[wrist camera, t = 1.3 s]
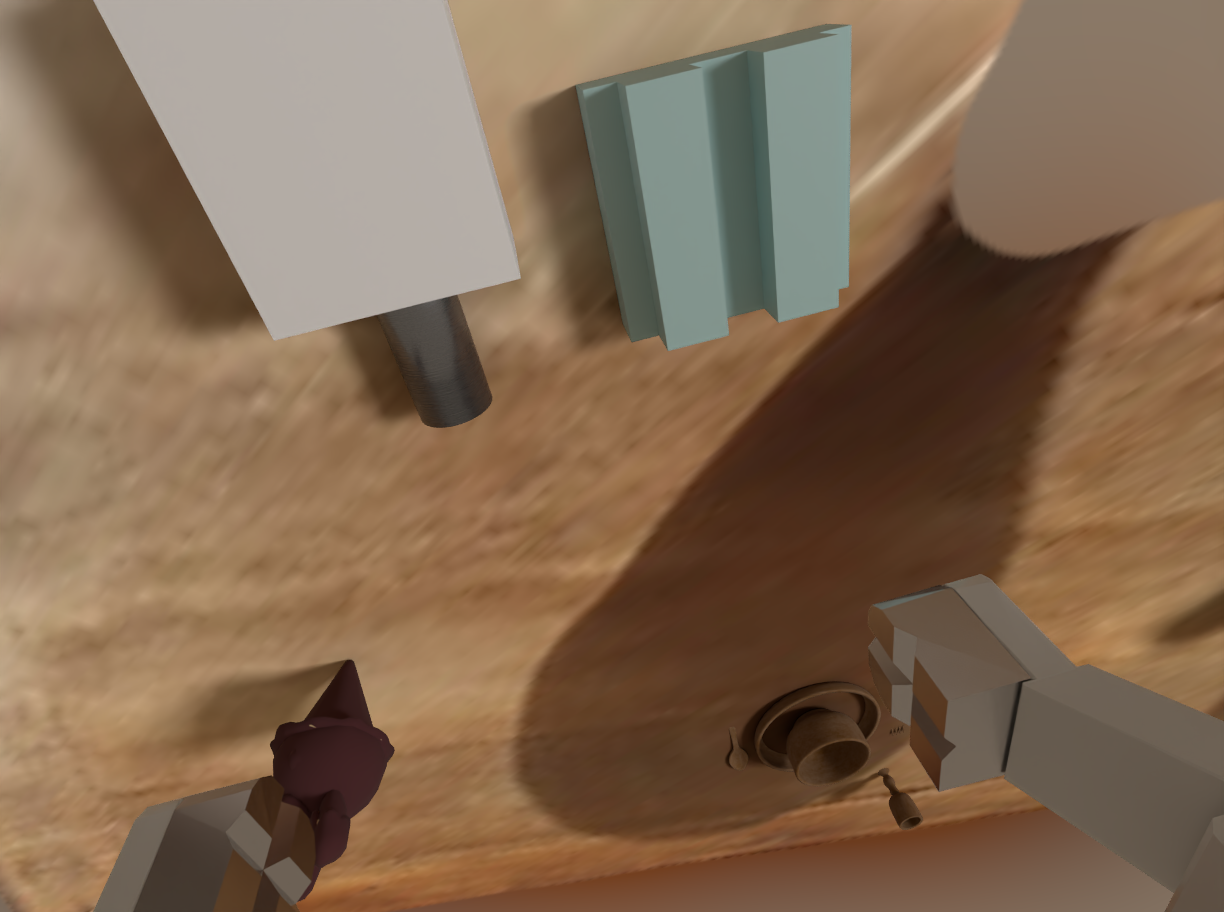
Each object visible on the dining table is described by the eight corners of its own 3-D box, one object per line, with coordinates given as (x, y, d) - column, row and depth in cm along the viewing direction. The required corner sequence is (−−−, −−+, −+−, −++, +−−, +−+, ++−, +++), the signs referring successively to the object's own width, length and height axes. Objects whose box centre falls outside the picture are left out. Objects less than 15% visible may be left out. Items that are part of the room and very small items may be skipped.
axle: (314, 134, 30) (294, 149, 27) (401, 114, 30) (391, 126, 27) (423, 398, 38) (418, 435, 35) (491, 381, 38) (493, 415, 35)
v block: (575, 85, 31) (589, 94, 27) (826, 24, 31) (873, 25, 27) (623, 324, 38) (639, 358, 34) (828, 271, 38) (866, 300, 34)
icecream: (318, 614, 45) (259, 839, 33) (420, 644, 48) (402, 860, 36) (279, 677, 48) (211, 908, 35) (378, 702, 51) (348, 922, 39)
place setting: (904, 649, 60) (942, 705, 55) (898, 768, 71) (929, 824, 66) (715, 705, 59) (737, 766, 55) (740, 816, 71) (759, 875, 66)
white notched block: (139, -54, 26) (56, -70, 21) (414, -118, 26) (400, -149, 21) (304, 290, 34) (273, 340, 29) (513, 238, 34) (520, 278, 29)
